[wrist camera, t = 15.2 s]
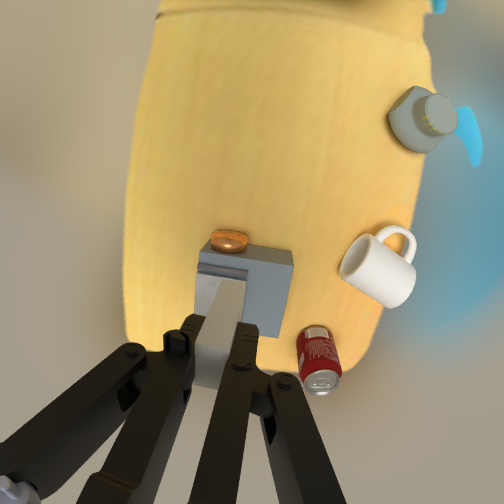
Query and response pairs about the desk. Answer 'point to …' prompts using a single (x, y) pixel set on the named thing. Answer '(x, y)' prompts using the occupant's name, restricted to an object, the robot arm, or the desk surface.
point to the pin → (229, 242)
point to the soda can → (318, 361)
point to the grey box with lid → (256, 282)
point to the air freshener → (422, 119)
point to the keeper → (208, 290)
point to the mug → (380, 267)
